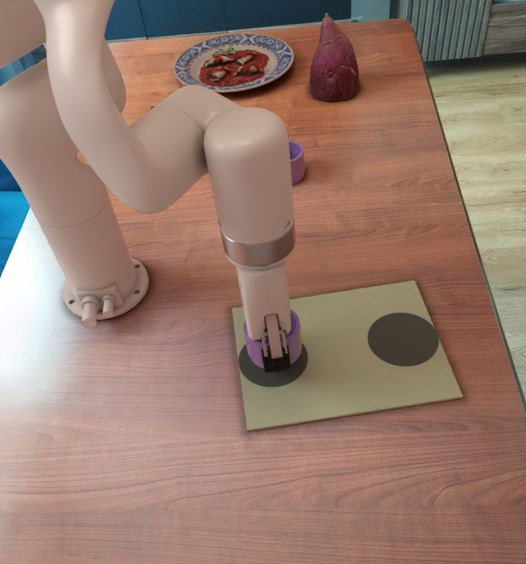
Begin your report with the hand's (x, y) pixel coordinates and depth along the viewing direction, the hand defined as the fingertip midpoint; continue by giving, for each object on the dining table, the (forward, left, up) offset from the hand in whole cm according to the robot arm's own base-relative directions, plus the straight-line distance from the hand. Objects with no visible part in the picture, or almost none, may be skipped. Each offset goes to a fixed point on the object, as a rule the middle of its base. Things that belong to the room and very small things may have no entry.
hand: (273, 344), depth 73 cm
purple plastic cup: (0, 0, -1) cm, 1 cm away
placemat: (0, -8, -3) cm, 9 cm away
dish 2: (+40, -7, -3) cm, 41 cm away
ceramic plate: (+80, -2, -4) cm, 80 cm away
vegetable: (+66, -21, -4) cm, 70 cm away
